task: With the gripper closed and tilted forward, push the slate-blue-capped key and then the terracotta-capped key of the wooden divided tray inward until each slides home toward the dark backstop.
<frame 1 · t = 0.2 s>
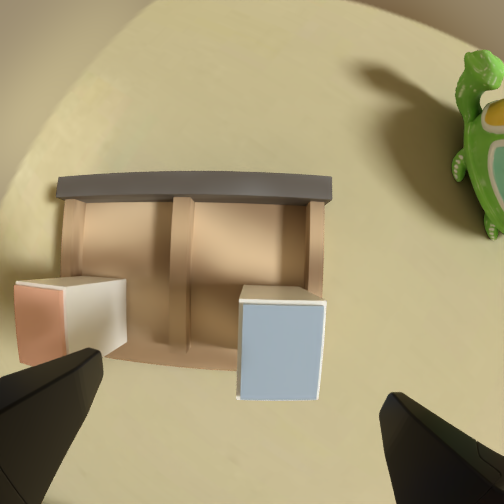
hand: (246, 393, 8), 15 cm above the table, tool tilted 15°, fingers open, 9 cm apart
wooden divided tray: (185, 288, 23), on the table
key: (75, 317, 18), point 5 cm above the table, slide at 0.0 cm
blue-topped cream block: (274, 333, 18), point 5 cm above the table, slide at 0.0 cm
turtle holder: (485, 168, 24), on the table
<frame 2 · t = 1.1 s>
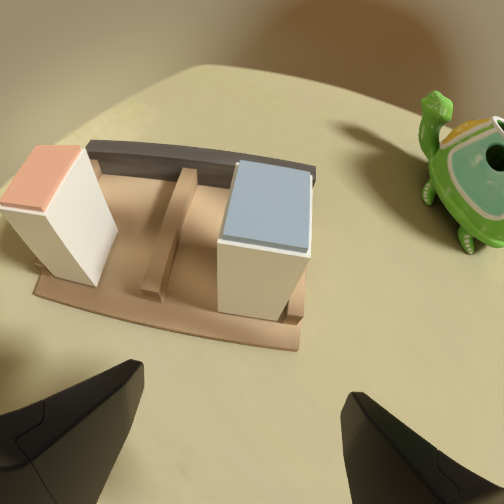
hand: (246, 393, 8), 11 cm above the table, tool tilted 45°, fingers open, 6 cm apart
wooden divided tray: (171, 250, 23), on the table
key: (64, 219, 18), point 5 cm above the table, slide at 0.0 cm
blue-topped cream block: (259, 250, 18), point 5 cm above the table, slide at 0.0 cm
turtle holder: (453, 202, 30), on the table
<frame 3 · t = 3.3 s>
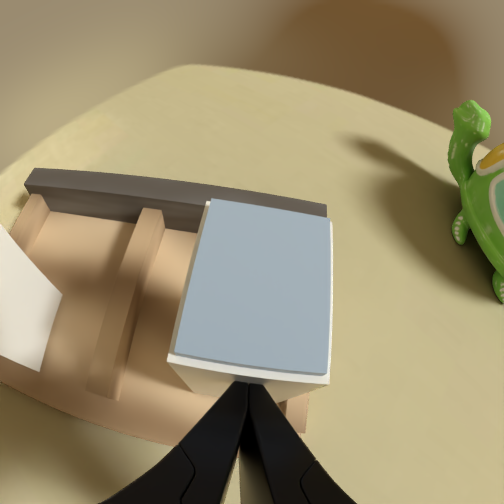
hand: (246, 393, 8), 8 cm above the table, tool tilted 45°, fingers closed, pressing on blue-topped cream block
wooden divided tray: (129, 324, 17), on the table
blue-topped cream block: (247, 328, 12), point 5 cm above the table, slide at 1.4 cm, touching gripper
turtle holder: (485, 236, 24), on the table
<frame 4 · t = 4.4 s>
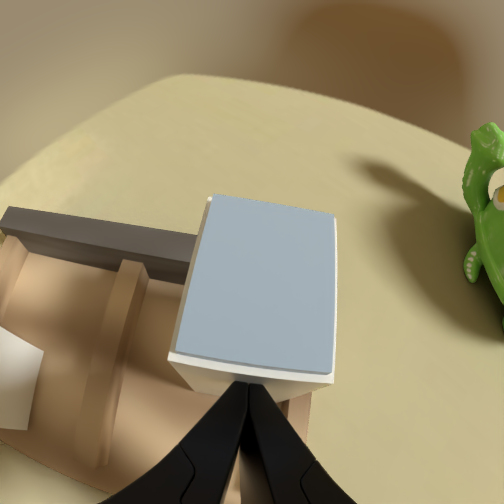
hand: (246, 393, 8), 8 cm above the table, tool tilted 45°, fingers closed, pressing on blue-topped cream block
wooden divided tray: (114, 385, 14), on the table
blue-topped cream block: (249, 326, 12), point 5 cm above the table, slide at 5.2 cm, touching gripper
turtle holder: (497, 269, 22), on the table
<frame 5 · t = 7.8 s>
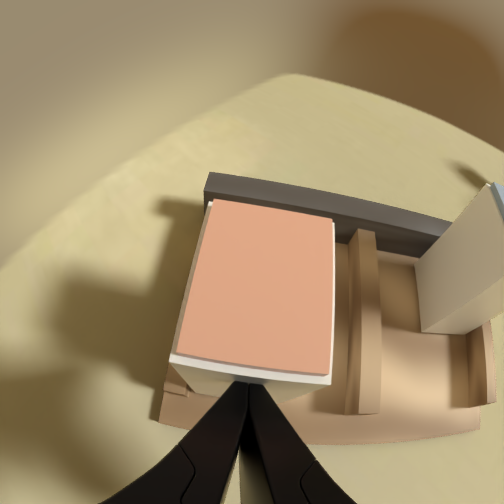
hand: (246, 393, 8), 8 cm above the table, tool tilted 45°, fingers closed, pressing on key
wooden divided tray: (353, 342, 17), on the table
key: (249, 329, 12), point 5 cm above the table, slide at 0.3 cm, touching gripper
blue-topped cream block: (480, 268, 15), point 5 cm above the table, slide at 5.2 cm
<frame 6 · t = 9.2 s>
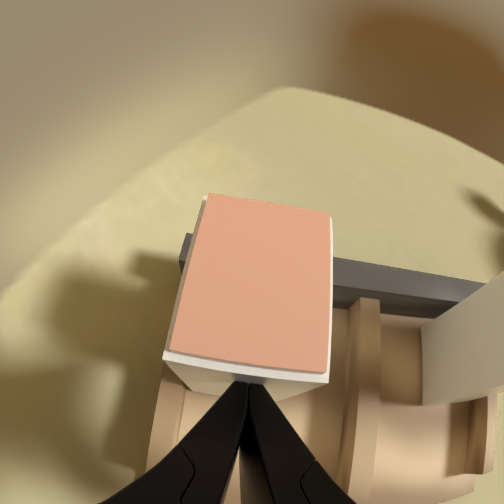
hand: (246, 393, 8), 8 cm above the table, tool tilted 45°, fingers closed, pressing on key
wooden divided tray: (348, 420, 15), on the table
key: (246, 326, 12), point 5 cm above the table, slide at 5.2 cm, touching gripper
blue-topped cream block: (493, 345, 12), point 5 cm above the table, slide at 5.2 cm
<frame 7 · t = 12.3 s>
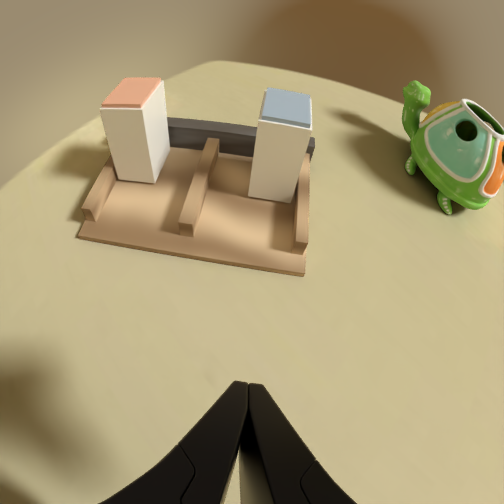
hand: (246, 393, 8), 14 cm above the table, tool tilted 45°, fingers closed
wooden divided tray: (199, 200, 29), on the table
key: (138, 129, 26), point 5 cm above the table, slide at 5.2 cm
blue-topped cream block: (279, 146, 26), point 5 cm above the table, slide at 5.2 cm
turtle holder: (434, 174, 36), on the table
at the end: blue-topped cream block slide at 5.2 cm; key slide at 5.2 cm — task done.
